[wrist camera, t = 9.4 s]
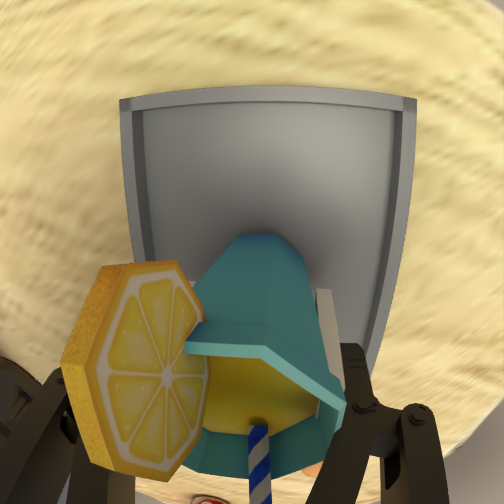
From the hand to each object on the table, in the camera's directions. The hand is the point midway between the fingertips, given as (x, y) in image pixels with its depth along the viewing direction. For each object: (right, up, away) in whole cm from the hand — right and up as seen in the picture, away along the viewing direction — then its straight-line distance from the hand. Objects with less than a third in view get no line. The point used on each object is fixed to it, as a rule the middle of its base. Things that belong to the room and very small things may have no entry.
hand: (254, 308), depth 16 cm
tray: (+1, +2, +4) cm, 5 cm away
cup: (+1, +1, +2) cm, 3 cm away
